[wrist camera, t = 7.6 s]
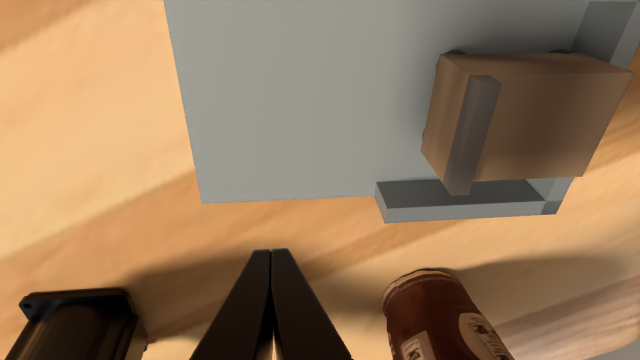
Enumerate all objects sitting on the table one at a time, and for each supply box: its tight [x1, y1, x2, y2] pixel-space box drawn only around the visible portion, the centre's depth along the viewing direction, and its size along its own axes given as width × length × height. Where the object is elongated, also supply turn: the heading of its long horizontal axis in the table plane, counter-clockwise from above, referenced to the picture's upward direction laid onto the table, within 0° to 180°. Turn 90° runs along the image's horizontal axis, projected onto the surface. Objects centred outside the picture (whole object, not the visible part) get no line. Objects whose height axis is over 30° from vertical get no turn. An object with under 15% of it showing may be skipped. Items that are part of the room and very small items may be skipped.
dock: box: [163, 0, 640, 223], centre depth 18 cm, size 20×12×3 cm, turn 89°
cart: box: [421, 49, 634, 196], centre depth 17 cm, size 7×5×5 cm
